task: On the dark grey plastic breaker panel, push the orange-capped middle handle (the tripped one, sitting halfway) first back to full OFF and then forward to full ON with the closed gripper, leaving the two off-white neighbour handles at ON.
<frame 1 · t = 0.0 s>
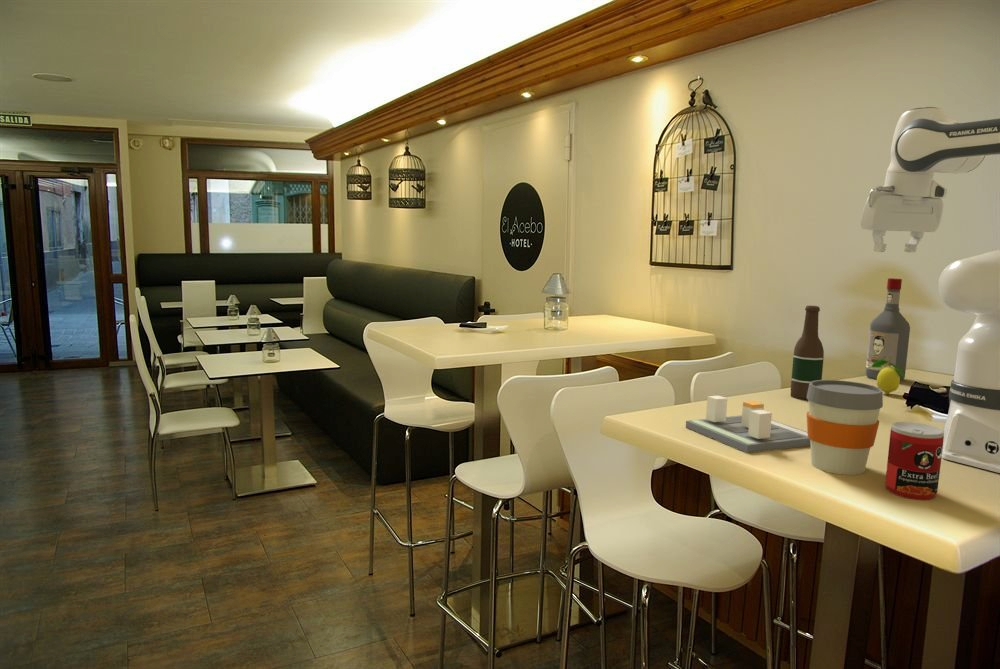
hand: (894, 252, 158), 39 cm above the table, tool pointing down, fingers open, 8 cm apart
breaker c: (716, 408, 157), point 5 cm above the table, slide at 4.0 cm
reusable coffee cup: (837, 467, 134), on the table
panel: (750, 435, 153), on the table
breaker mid: (752, 414, 152), point 4 cm above the table, slide at 0.0 cm
breaker a: (759, 424, 145), point 5 cm above the table, slide at 4.0 cm
canned food: (910, 493, 121), on the table
lemon: (885, 394, 197), on the table
liquor: (884, 379, 219), on the table
beer bottle: (804, 397, 191), on the table
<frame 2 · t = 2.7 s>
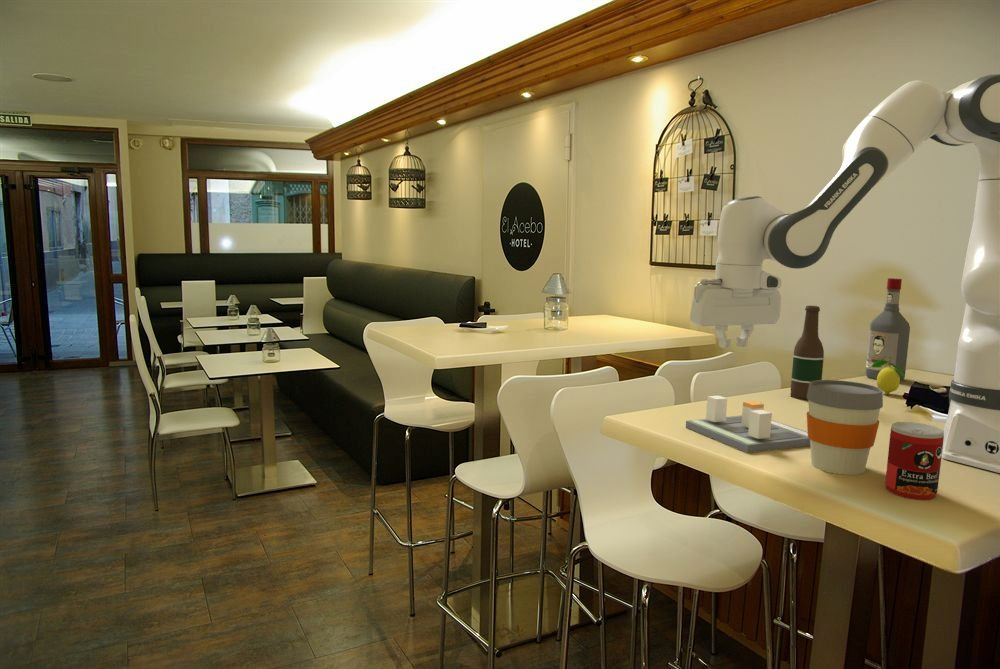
hand: (733, 347, 148), 19 cm above the table, tool pointing down, fingers open, 3 cm apart
nothing on the table moved.
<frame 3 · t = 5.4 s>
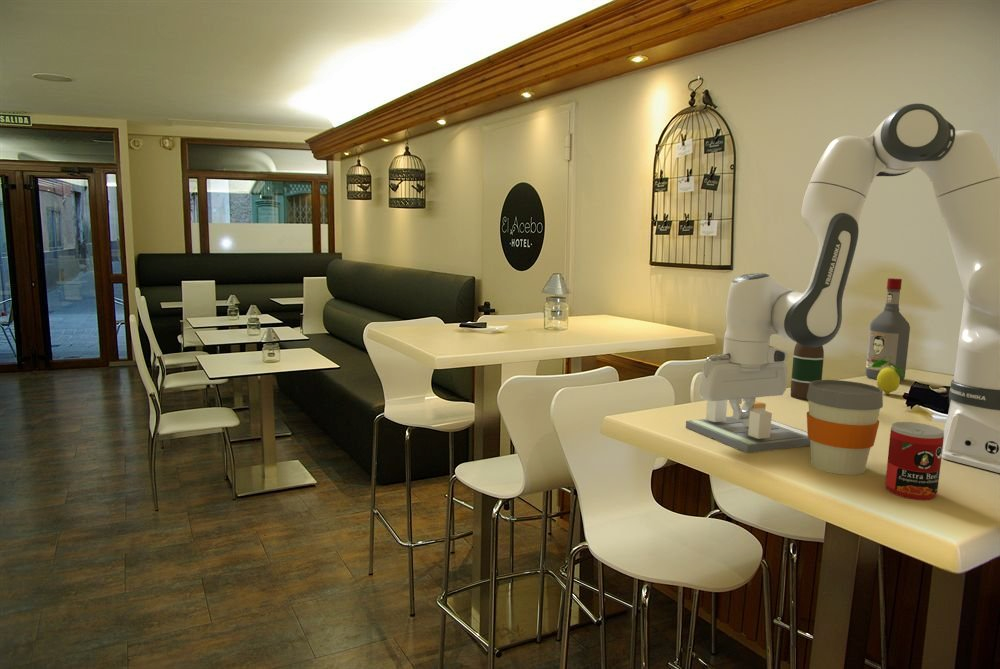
hand: (741, 418, 151), 4 cm above the table, tool pointing down, fingers closed
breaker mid: (754, 414, 152), point 5 cm above the table, slide at -0.5 cm, touching gripper
everything else where it was.
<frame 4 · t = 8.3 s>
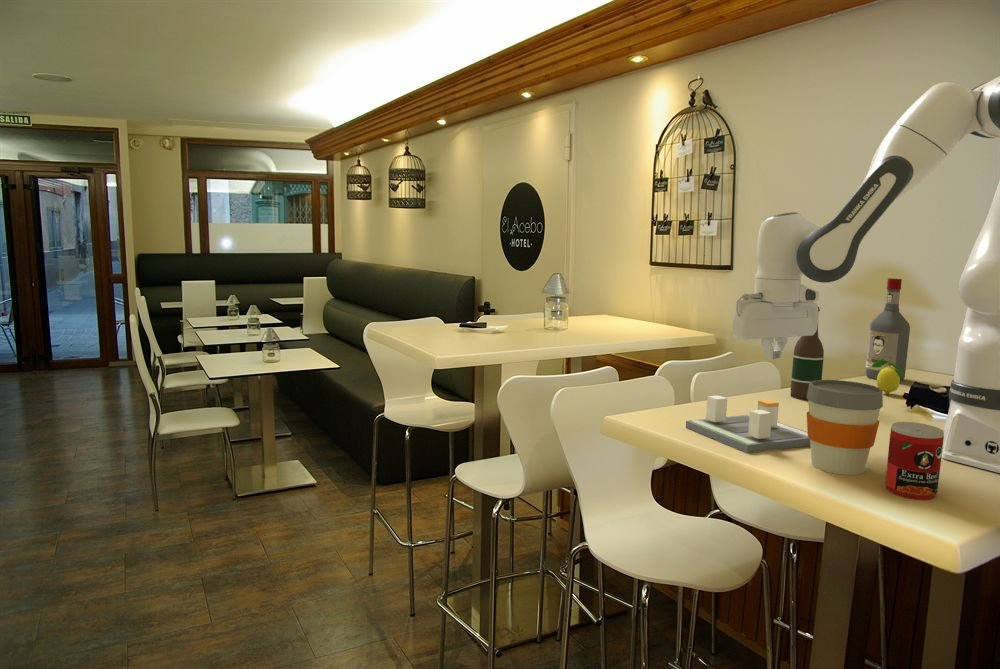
hand: (773, 358, 152), 16 cm above the table, tool pointing down, fingers closed
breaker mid: (767, 413, 154), point 5 cm above the table, slide at -4.0 cm
everything else where it was.
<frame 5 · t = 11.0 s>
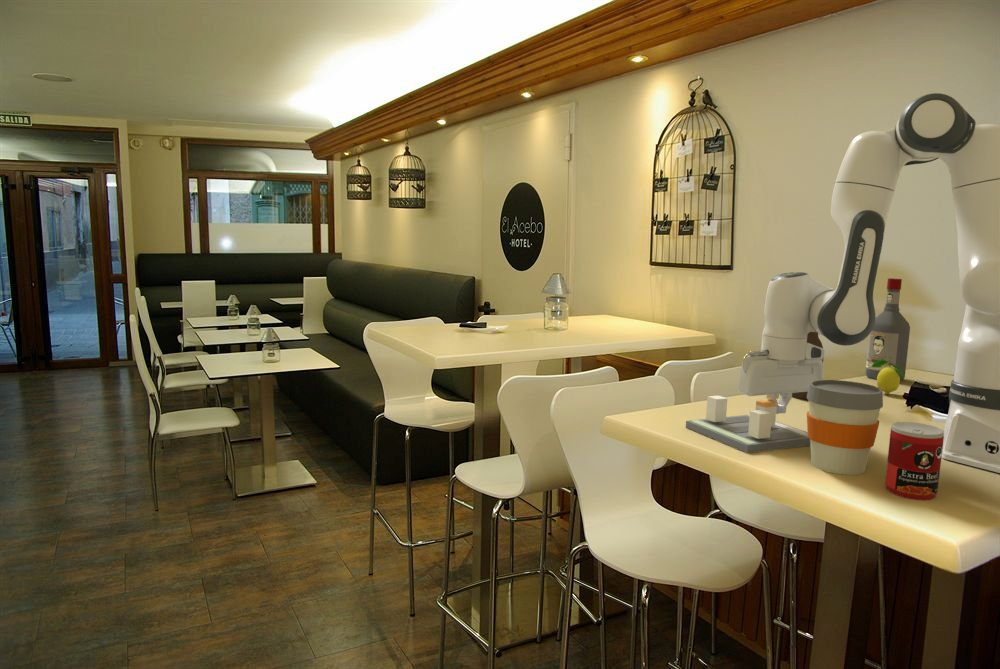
hand: (777, 413, 155), 4 cm above the table, tool pointing down, fingers closed
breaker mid: (765, 413, 154), point 5 cm above the table, slide at -3.5 cm, touching gripper
everything else where it was.
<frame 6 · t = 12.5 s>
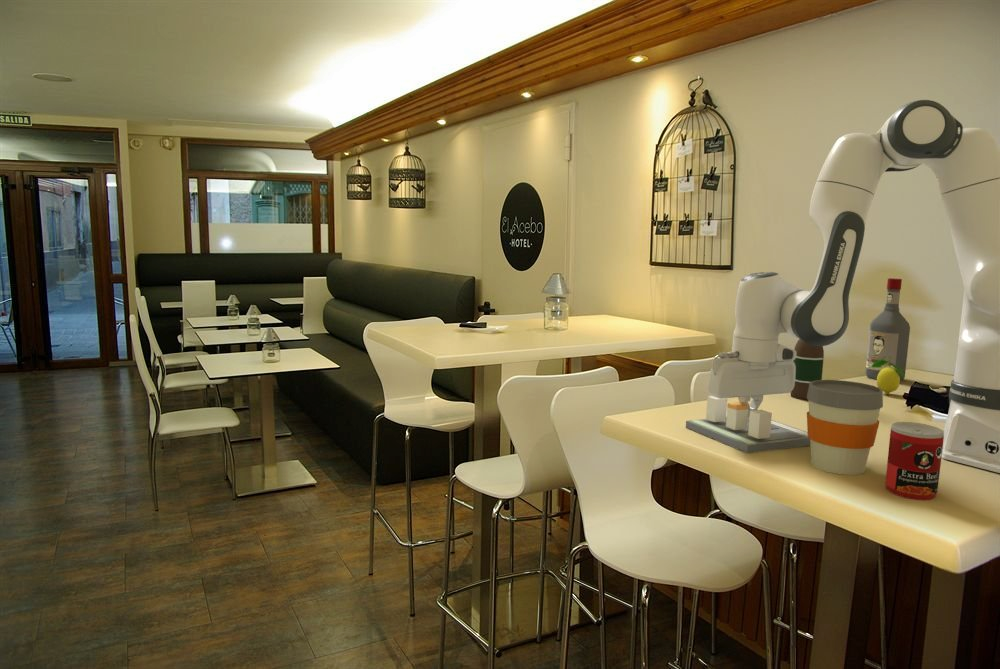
hand: (749, 416, 152), 4 cm above the table, tool pointing down, fingers closed
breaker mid: (737, 416, 151), point 5 cm above the table, slide at 4.1 cm, touching gripper
everything else where it was.
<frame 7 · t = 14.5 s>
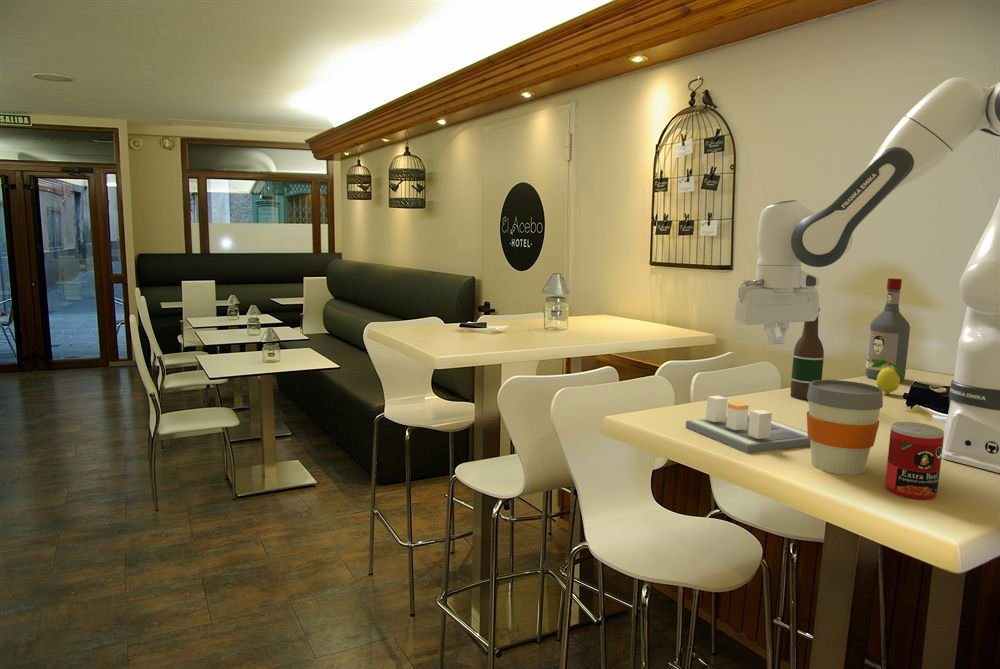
hand: (775, 344, 155), 19 cm above the table, tool pointing down, fingers closed
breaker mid: (737, 416, 151), point 5 cm above the table, slide at 4.0 cm
everything else where it was.
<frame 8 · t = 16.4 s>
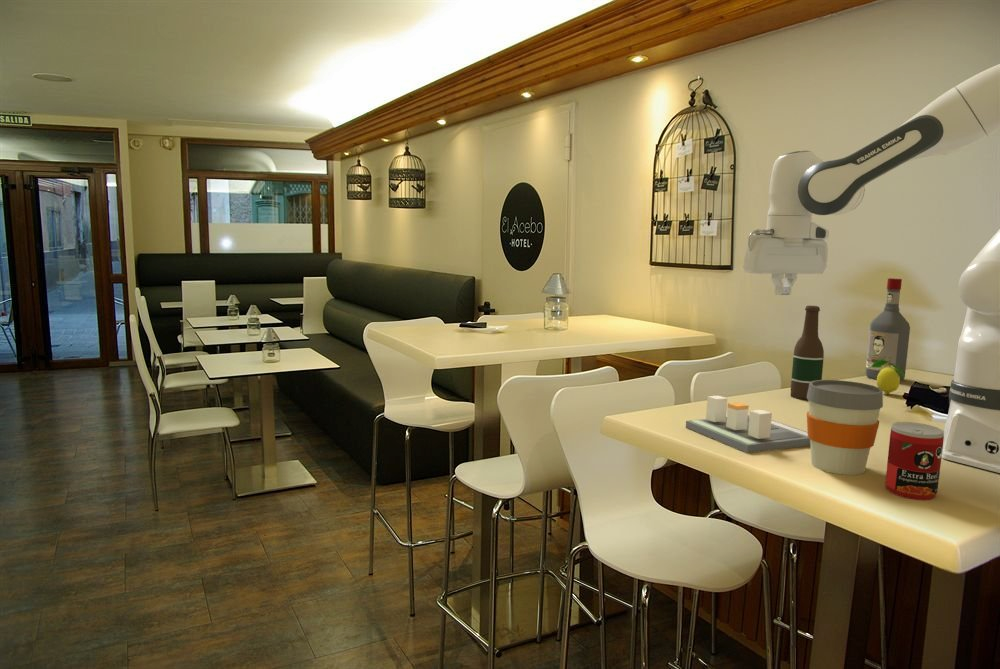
hand: (782, 294, 157), 29 cm above the table, tool pointing down, fingers closed
nothing on the table moved.
at the end: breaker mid slide at 4.0 cm; breaker a slide at 4.0 cm; breaker c slide at 4.0 cm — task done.
